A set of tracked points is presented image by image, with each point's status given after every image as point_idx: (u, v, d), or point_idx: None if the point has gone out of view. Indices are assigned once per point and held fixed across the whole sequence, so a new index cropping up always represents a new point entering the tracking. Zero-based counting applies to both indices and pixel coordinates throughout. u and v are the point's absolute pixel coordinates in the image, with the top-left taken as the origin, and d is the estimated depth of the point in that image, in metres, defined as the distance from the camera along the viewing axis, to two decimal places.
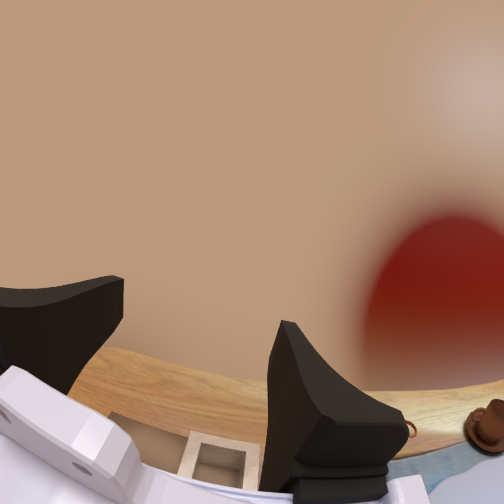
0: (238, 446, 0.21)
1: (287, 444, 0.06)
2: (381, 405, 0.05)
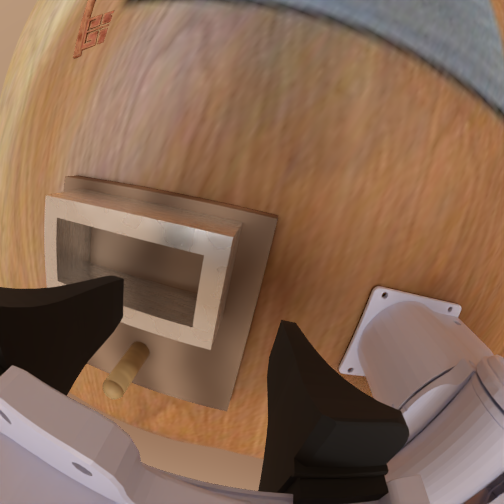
0: (50, 228, 0.14)
1: (287, 444, 0.06)
2: (381, 405, 0.05)
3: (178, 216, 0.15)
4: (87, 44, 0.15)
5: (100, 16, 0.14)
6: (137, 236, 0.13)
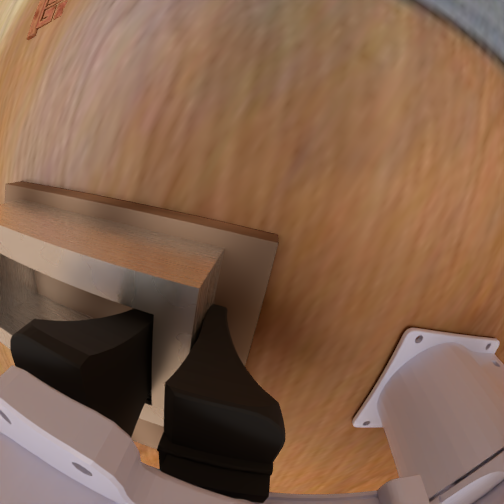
0: None
1: None
2: (258, 392, 0.05)
3: (121, 243, 0.09)
4: (43, 21, 0.09)
5: None
6: (59, 277, 0.07)
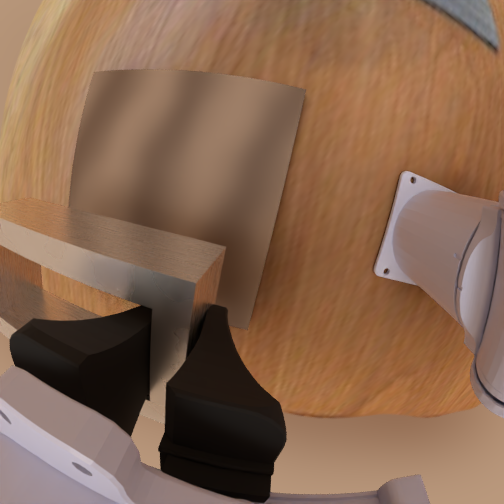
0: None
1: None
2: (259, 392, 0.05)
3: (123, 240, 0.09)
4: None
5: None
6: (62, 271, 0.08)
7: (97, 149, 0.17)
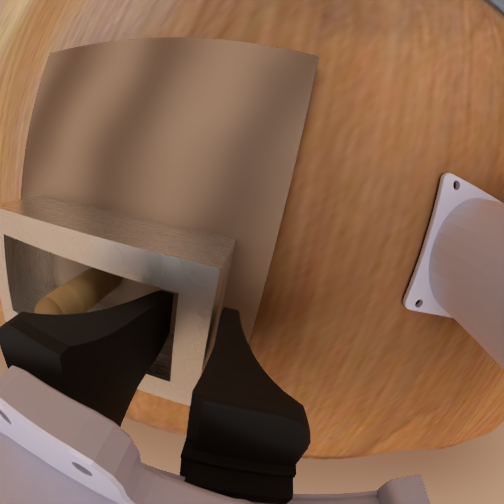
0: None
1: None
2: (282, 396, 0.05)
3: (146, 233, 0.10)
4: None
5: None
6: (89, 263, 0.09)
7: (47, 147, 0.12)
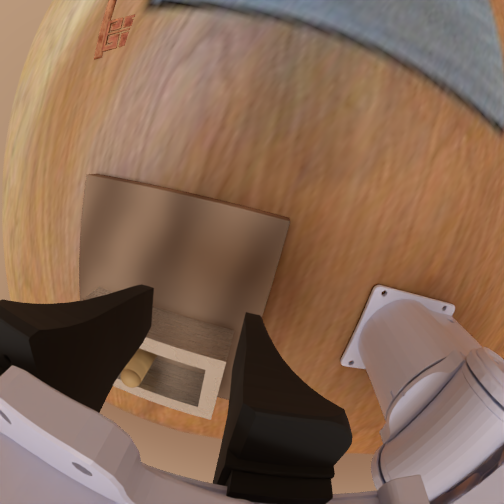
0: None
1: (228, 435, 0.06)
2: (323, 401, 0.05)
3: (184, 334, 0.19)
4: (108, 46, 0.16)
5: (121, 19, 0.16)
6: (155, 353, 0.17)
7: (100, 256, 0.20)
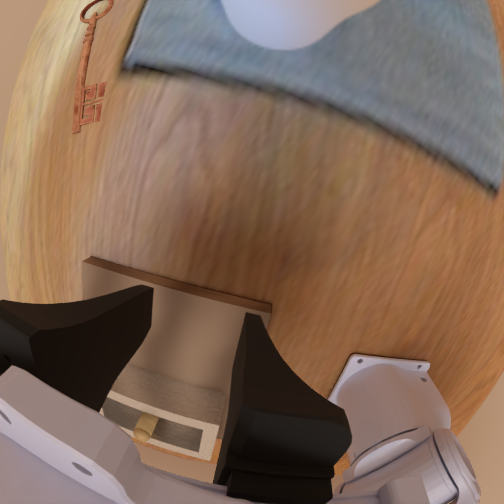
0: None
1: (228, 435, 0.06)
2: (323, 401, 0.05)
3: (184, 401, 0.20)
4: (85, 120, 0.18)
5: (95, 86, 0.17)
6: (161, 417, 0.19)
7: None
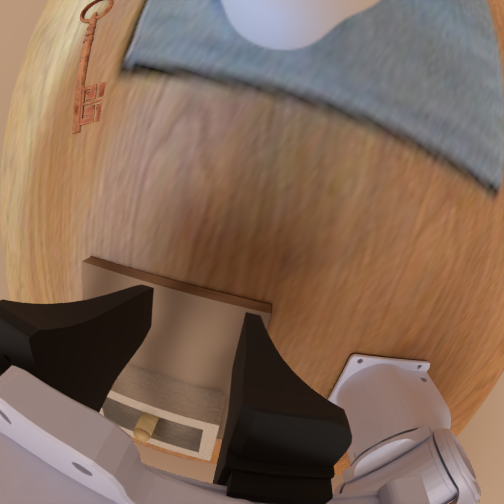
0: None
1: (228, 435, 0.06)
2: (323, 401, 0.05)
3: (184, 401, 0.20)
4: (85, 120, 0.18)
5: (95, 86, 0.17)
6: (161, 417, 0.19)
7: None
